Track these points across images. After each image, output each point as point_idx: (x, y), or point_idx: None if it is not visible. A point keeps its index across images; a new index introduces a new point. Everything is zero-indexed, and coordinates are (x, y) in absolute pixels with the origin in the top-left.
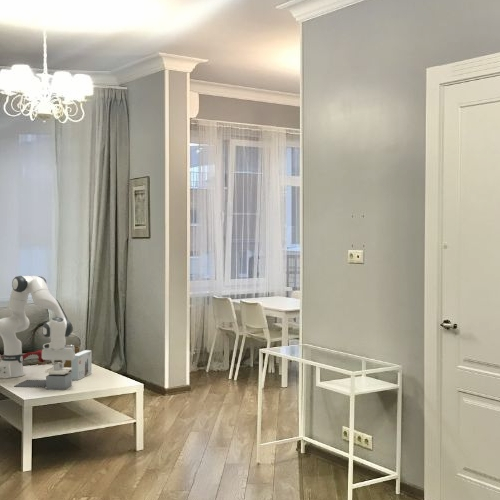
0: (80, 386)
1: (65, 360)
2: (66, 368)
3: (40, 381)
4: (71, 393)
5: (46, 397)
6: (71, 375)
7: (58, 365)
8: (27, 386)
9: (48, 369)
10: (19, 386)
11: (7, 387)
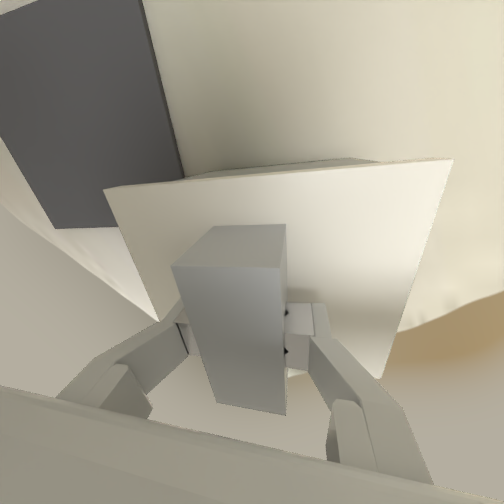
0: (432, 154)
1: (416, 446)
2: (352, 248)
3: (61, 76)
4: (398, 329)
5: (301, 372)
6: (379, 162)
7: (284, 407)
8: (110, 226)
9: (161, 309)
10: (78, 227)
11: (50, 241)
